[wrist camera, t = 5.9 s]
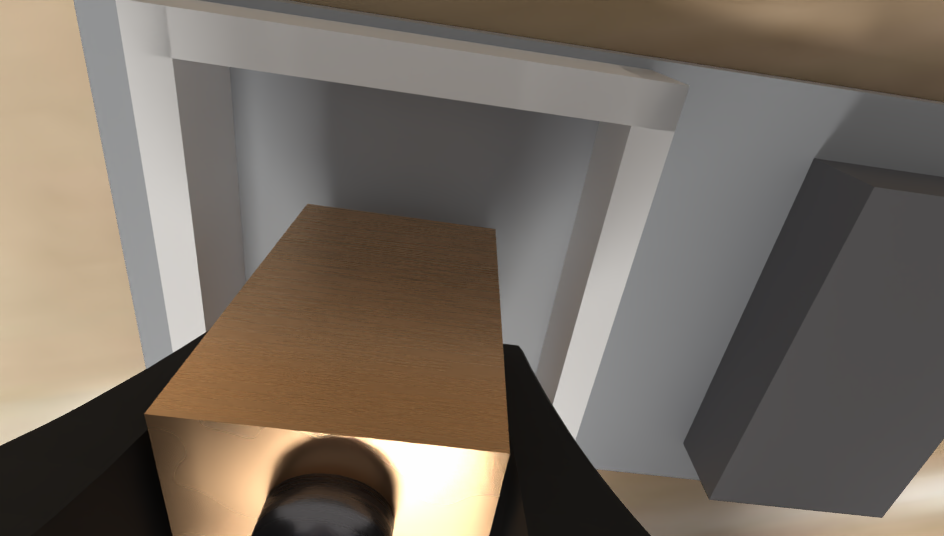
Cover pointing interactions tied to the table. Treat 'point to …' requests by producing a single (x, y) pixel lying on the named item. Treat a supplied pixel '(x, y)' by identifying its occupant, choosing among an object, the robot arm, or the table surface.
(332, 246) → the brown block with knobs
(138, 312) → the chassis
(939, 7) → the table surface
